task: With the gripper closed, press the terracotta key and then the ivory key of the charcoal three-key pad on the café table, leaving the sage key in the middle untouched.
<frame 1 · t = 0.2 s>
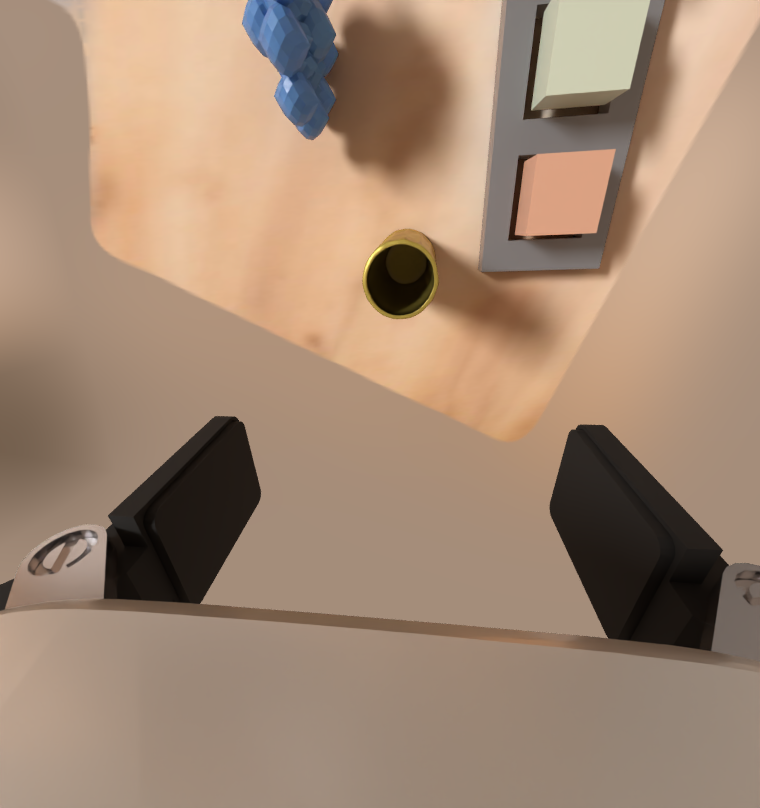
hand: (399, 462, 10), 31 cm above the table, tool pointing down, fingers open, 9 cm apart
vase: (406, 261, 36), on the table
keypad board: (564, 71, 28), on the table
key sage: (585, 49, 24), point 4 cm above the table, slide at 0.0 cm
key terracotta: (559, 196, 28), point 4 cm above the table, slide at 0.0 cm
blue flower rosette: (312, 64, 29), on the table
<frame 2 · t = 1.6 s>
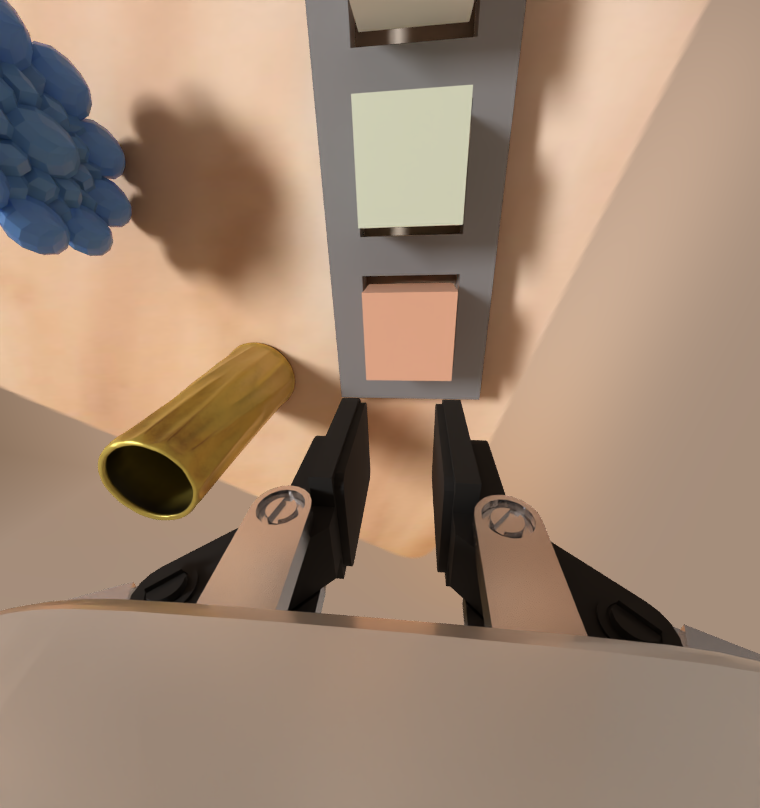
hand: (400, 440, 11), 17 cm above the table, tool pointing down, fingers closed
vase: (262, 374, 30), on the table
keypad board: (411, 178, 22), on the table
key sage: (410, 168, 18), point 4 cm above the table, slide at 0.0 cm
key terracotta: (409, 331, 23), point 4 cm above the table, slide at 0.0 cm
blue flower rosette: (107, 159, 23), on the table
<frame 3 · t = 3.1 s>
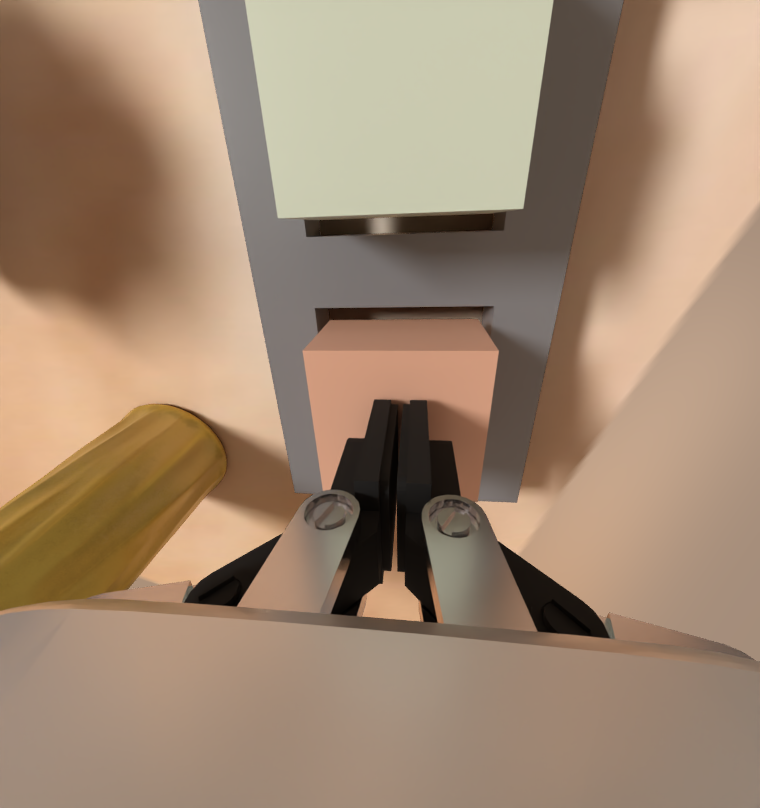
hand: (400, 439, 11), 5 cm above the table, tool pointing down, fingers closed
vase: (178, 447, 19), on the table
keypad board: (404, 124, 11), on the table
key sage: (399, 80, 8), point 4 cm above the table, slide at 0.0 cm
key terracotta: (400, 406, 13), point 4 cm above the table, slide at 0.4 cm, touching gripper
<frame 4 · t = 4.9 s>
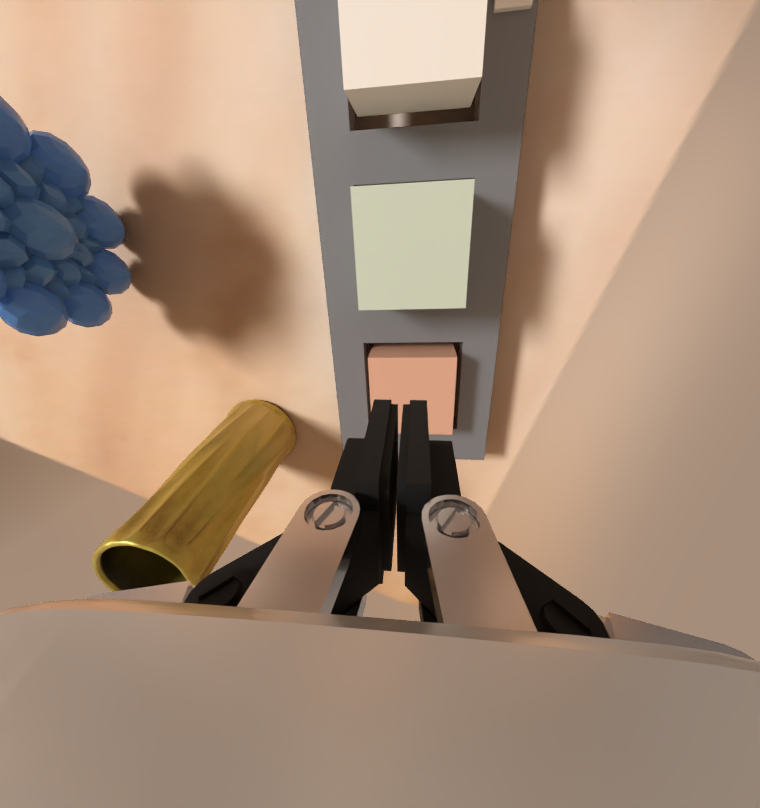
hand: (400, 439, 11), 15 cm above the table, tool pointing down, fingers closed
vase: (263, 429, 29), on the table
key ivory: (412, 12, 14), point 4 cm above the table, slide at 0.0 cm
keypad board: (413, 246, 22), on the table
key sage: (411, 249, 18), point 4 cm above the table, slide at 0.0 cm
key terracotta: (412, 387, 24), point 2 cm above the table, slide at 2.2 cm
blue flower rosette: (107, 227, 23), on the table
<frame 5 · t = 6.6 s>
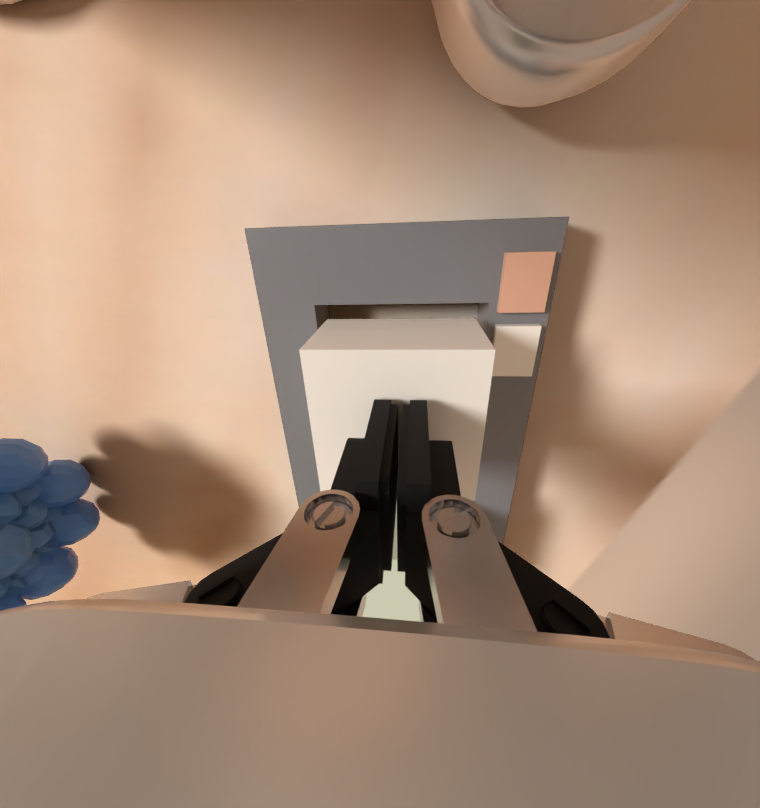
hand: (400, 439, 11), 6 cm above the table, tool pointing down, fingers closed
key ivory: (398, 406, 13), point 4 cm above the table, slide at 0.0 cm, touching gripper
keypad board: (401, 506, 20), on the table
key sage: (399, 565, 17), point 4 cm above the table, slide at 0.0 cm
blue flower rosette: (72, 466, 21), on the table
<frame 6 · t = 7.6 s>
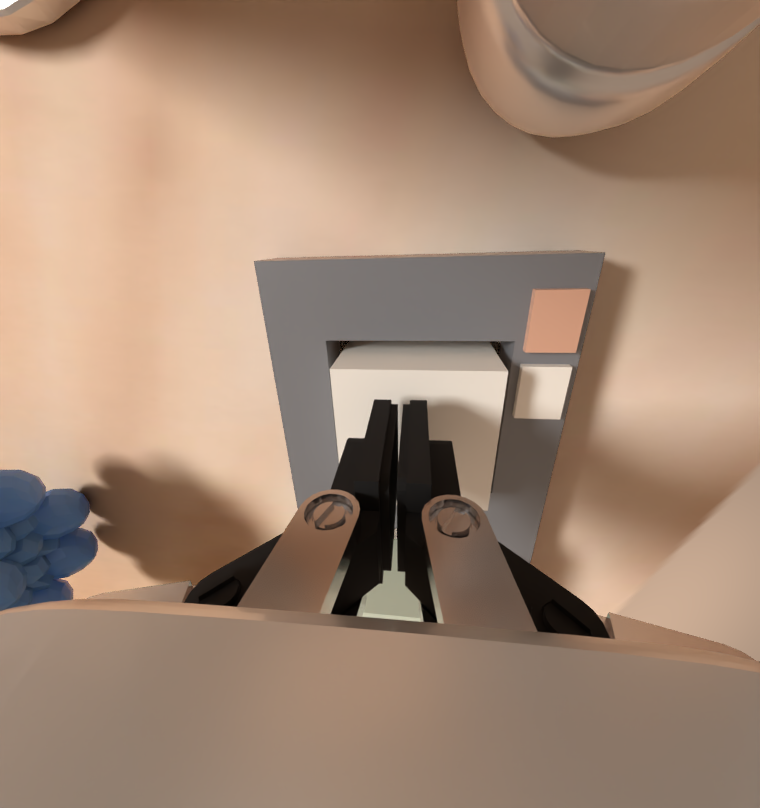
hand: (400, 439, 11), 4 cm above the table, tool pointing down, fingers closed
key ivory: (415, 420, 13), point 2 cm above the table, slide at 2.2 cm
keypad board: (413, 545, 19), on the table
key sage: (411, 615, 15), point 4 cm above the table, slide at 0.0 cm
plastic bottle: (567, 18, 10), on the table
blue flower rosette: (71, 493, 21), on the table
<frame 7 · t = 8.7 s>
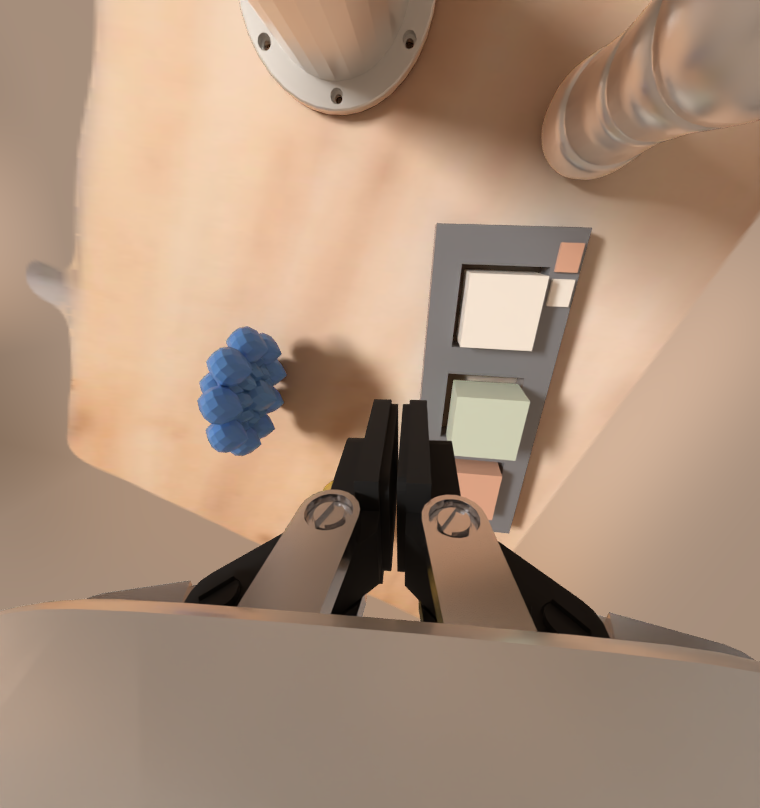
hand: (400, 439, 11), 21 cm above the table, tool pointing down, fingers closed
key ivory: (497, 309, 27), point 2 cm above the table, slide at 2.2 cm
keypad board: (476, 399, 33), on the table
key sage: (483, 419, 29), point 4 cm above the table, slide at 0.0 cm
plastic bottle: (581, 131, 23), on the table
key terracotta: (466, 484, 35), point 2 cm above the table, slide at 2.2 cm
blue flower rosette: (267, 366, 34), on the table
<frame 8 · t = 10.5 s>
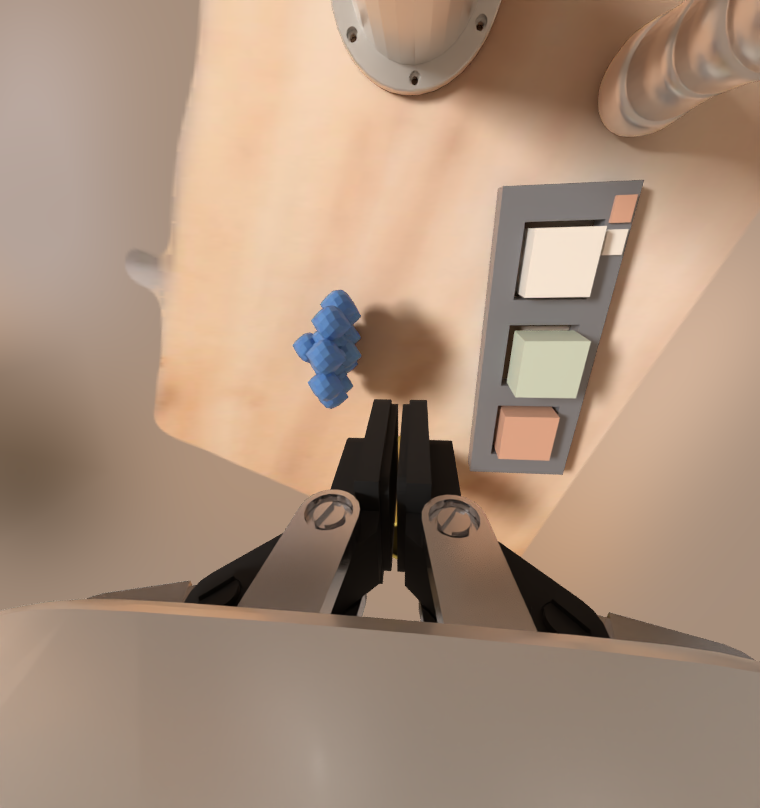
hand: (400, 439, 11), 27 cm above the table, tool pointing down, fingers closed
key ivory: (556, 261, 31), point 2 cm above the table, slide at 2.2 cm
keypad board: (532, 350, 36), on the table
key sage: (544, 363, 33), point 4 cm above the table, slide at 0.0 cm
plastic bottle: (632, 93, 26), on the table
key terracotta: (523, 430, 39), point 2 cm above the table, slide at 2.2 cm
blue flower rosette: (339, 332, 38), on the table
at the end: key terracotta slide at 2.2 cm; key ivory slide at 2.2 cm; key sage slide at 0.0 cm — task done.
